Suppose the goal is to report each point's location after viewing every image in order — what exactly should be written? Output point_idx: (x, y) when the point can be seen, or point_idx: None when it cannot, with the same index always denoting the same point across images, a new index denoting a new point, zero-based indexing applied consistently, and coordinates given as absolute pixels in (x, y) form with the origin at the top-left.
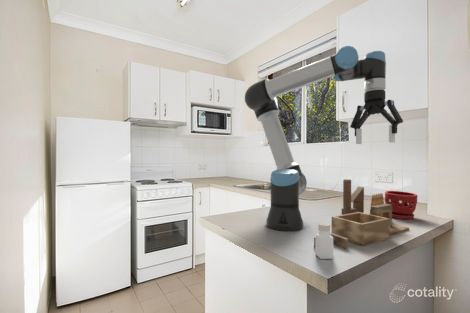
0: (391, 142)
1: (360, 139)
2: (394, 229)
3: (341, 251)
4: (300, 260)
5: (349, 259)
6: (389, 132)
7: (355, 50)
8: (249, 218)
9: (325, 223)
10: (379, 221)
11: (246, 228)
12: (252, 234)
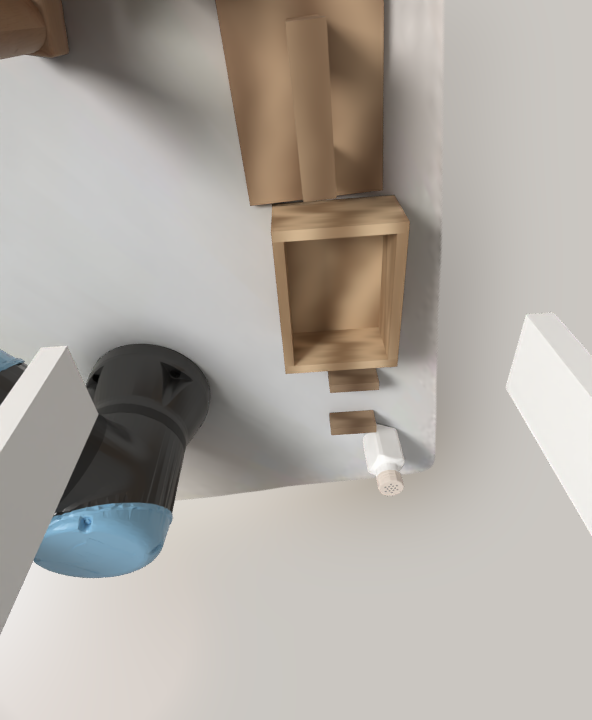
0: (520, 346)
1: (52, 415)
2: (361, 83)
3: (379, 391)
4: None
5: (414, 406)
6: (572, 487)
7: None
8: None
9: (389, 484)
10: (403, 286)
11: None
12: (201, 476)
